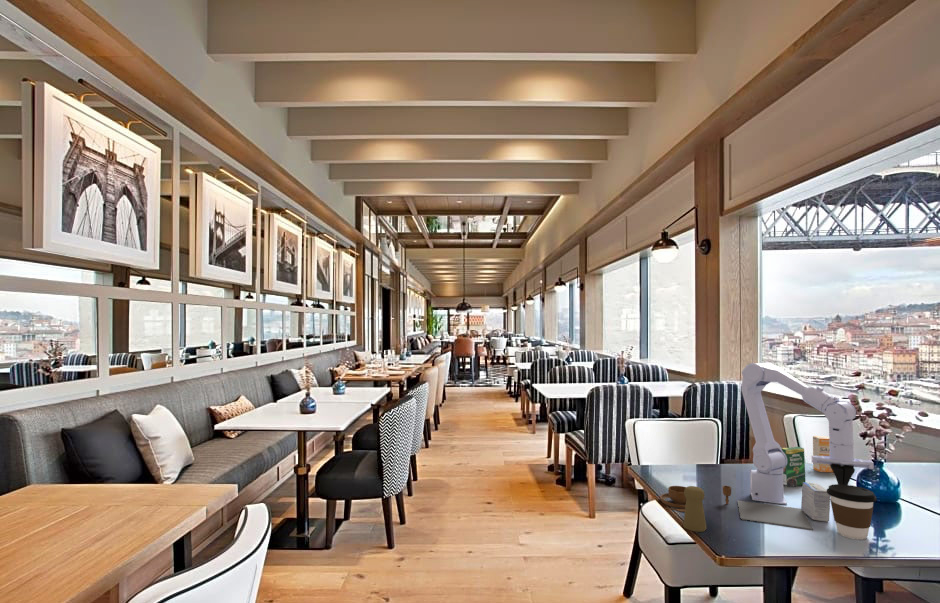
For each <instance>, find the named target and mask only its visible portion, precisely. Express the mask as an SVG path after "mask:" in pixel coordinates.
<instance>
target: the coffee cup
mask: <svg viewBox="0 0 940 603" xmlns="http://www.w3.org/2000/svg"><path fill="white" fill-rule="evenodd" d="M826 490H827V493H828V494H829V495H830V507H831V509H832V510H831V511H832V516H833V519H834V522H835V525H836V531H837V533H838V534H839V535H840V536H842V537H845V538H849V539H852V540H861V541H862V540H866V539H867V538H868V536H869V532H870V527H871V526H872V525H871V524H872V518H873V513H874V512H873V511H874V503H875V502H877V496H876V495H875V493H874V492H873V491H871V490H869V489H867V488H864V487H859V486H856V485H850V484H848V485H842V484H838V483H836V484H835V483H834V484H830V485H828V488H827V489H826Z"/></svg>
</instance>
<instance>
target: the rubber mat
mask: <svg viewBox="0 0 940 603" xmlns="http://www.w3.org/2000/svg"><path fill="white" fill-rule="evenodd" d="M737 507H739V508H738V512H739V518H741V519H742V520H741V519H740V520H741V521H747V520H750V521H749V522H753V521H757V522H756V523H760V522H765V523H764V524H767V523H769V525H774V524H776V525H775V526H781V525H782V527H790V528H796V529H804V530H810V531H814V529H813V526H812V524H811V522H810V520H809V518H808V515H807V514H806V513H805V512H803V511H802V510H801V507H800V508H799V507H791V506H790V507H789V506H782V505H775V504H768V503H761V502H753V501H752V502H751V501H745V500H737Z"/></svg>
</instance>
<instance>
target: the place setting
mask: <svg viewBox="0 0 940 603" xmlns="http://www.w3.org/2000/svg"><path fill="white" fill-rule="evenodd" d="M686 487H687V486H682V485H671V486H668V491H667V493H663V494H661V495H660V496H659V499H660V501H661V503H662V504H664V505H666V506H668V507H665V509H667V510H674V511H677V512H680V513H685V506H686V497H685V495H684V490H685V488H686ZM722 495H724V496H725V499H724V501H725V503H726V504H729V505H730V503H729V502H730V500H729V497H731V495H732V486H729V485H722ZM666 499H670V500H671V501H673V502H670V501H666ZM704 499H705V497H704ZM704 499H703V500H704ZM726 504H725V505H726ZM670 507H672V508H670Z"/></svg>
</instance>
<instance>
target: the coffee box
mask: <svg viewBox="0 0 940 603" xmlns="http://www.w3.org/2000/svg"><path fill="white" fill-rule="evenodd" d="M781 449H782V451H783V453H784V454H785V455H786V457H787V465H786V466H785V467H784V468H783V486H784V485H785V486H784V487H786V486H787V487H786V488H788V486H791V487H798V486H799V487H800V486H801V487H802V486H803V482H806V465H805V464H806V462H805V448H804V447H800V446H793V447H792V446H791V447H781Z"/></svg>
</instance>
